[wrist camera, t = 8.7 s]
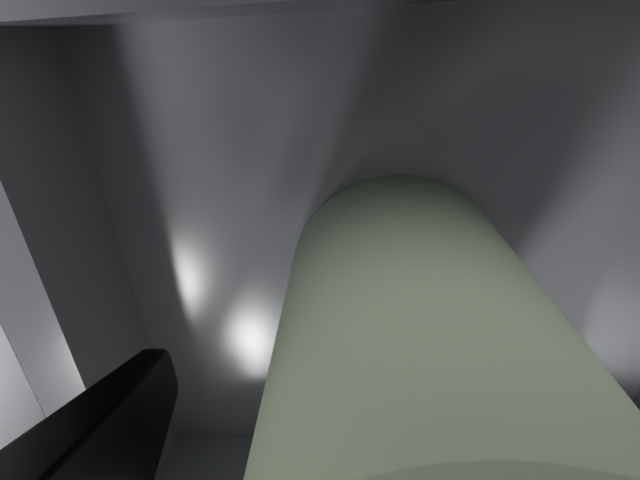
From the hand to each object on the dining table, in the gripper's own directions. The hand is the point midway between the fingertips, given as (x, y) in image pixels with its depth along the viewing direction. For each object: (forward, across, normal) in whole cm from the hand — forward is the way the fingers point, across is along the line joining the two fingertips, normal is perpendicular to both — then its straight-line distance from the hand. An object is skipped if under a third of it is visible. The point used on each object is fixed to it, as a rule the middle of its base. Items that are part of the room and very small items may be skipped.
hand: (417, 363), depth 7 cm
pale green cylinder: (+3, 0, 0) cm, 3 cm away
